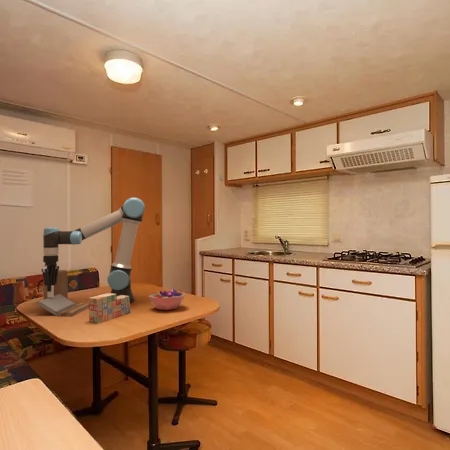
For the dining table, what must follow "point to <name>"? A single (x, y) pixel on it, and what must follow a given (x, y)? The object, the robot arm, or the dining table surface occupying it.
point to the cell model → (167, 299)
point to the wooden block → (59, 285)
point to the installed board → (73, 310)
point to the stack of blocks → (108, 307)
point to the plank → (56, 304)
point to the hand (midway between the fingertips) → (50, 297)
